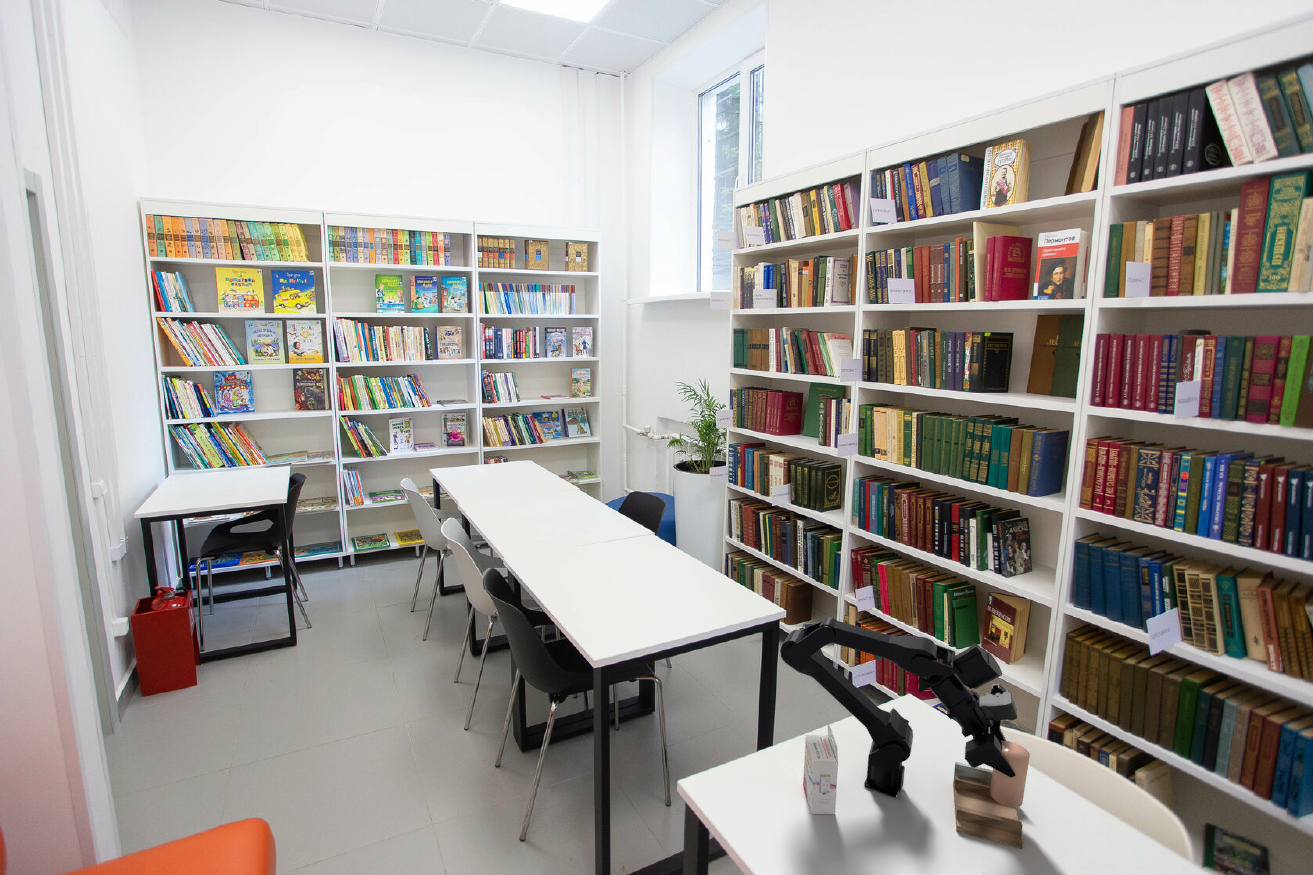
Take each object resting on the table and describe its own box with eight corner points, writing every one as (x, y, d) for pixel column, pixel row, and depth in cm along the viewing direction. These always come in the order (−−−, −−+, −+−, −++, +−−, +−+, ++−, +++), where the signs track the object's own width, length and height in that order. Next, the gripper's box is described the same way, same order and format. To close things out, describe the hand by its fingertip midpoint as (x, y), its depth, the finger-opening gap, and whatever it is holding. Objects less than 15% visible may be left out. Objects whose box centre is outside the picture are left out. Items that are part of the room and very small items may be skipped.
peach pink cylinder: (988, 799, 125) (995, 752, 123) (991, 782, 129) (997, 737, 128) (1021, 811, 122) (1029, 763, 120) (1023, 794, 126) (1030, 747, 125)
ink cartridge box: (801, 784, 135) (805, 719, 133) (825, 785, 135) (829, 720, 133) (810, 814, 127) (814, 746, 124) (835, 815, 127) (840, 747, 124)
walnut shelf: (956, 830, 123) (958, 806, 122) (953, 783, 136) (955, 761, 135) (1021, 848, 119) (1025, 823, 118) (1012, 798, 132) (1015, 775, 131)
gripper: (993, 703, 115) (1057, 779, 112) (991, 657, 132) (1046, 722, 129) (940, 730, 120) (1000, 804, 117) (944, 682, 137) (997, 745, 134)
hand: (1012, 766), depth 124 cm, fingers closed on peach pink cylinder, 6 cm apart
